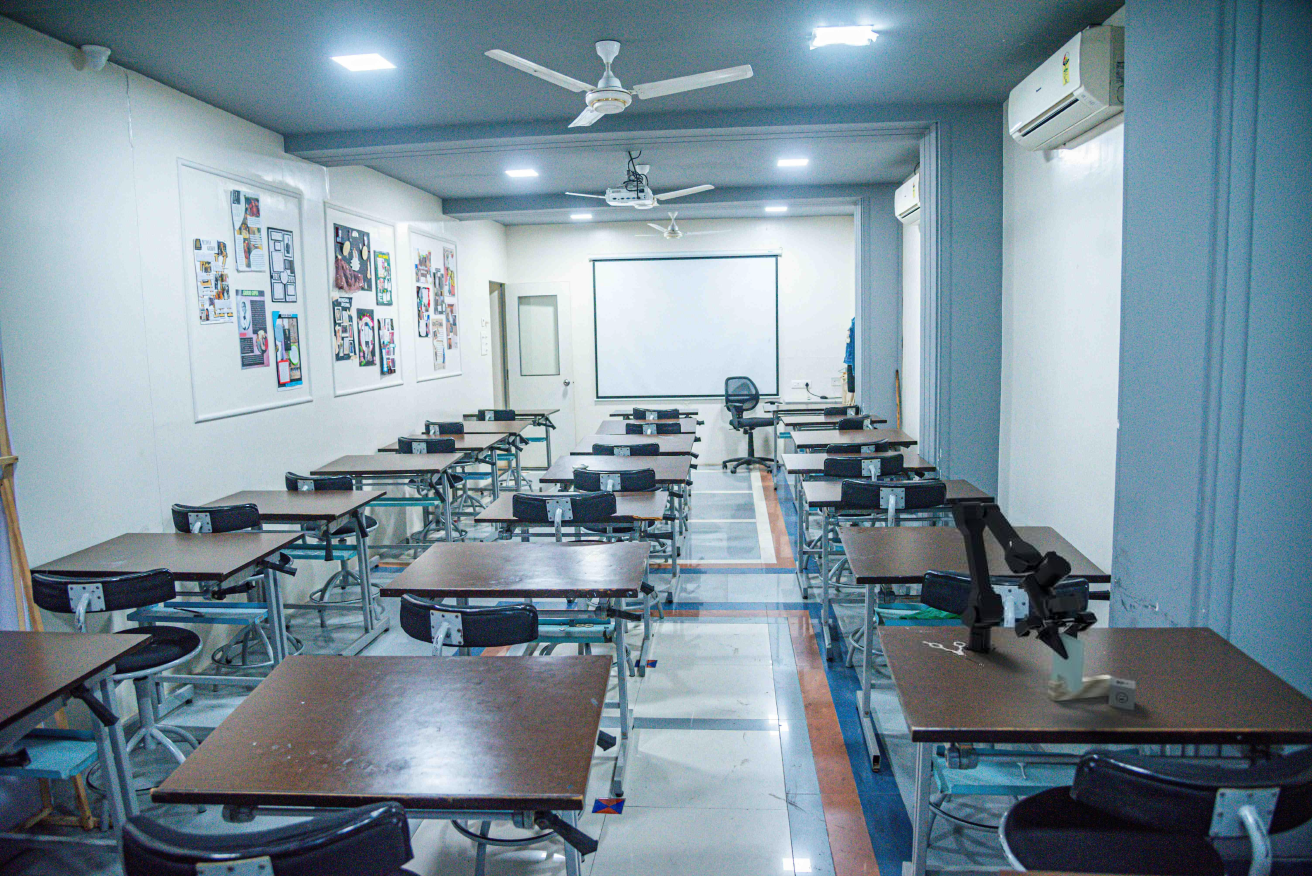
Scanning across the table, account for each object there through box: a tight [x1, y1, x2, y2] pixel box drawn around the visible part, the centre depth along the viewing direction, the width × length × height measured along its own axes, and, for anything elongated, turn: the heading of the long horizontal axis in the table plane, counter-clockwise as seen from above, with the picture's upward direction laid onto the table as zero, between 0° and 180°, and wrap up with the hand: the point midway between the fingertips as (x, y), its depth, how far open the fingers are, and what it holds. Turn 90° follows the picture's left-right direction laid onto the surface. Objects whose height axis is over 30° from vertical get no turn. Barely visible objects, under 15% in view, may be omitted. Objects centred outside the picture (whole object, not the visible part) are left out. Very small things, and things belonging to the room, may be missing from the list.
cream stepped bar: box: [1047, 674, 1112, 702], centre depth 199 cm, size 16×2×4 cm, turn 104°
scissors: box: [922, 640, 983, 666], centre depth 225 cm, size 11×1×20 cm
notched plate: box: [1051, 632, 1086, 691], centre depth 197 cm, size 7×2×11 cm, turn 14°
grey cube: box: [1108, 676, 1136, 711], centre depth 195 cm, size 5×5×5 cm
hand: (1072, 658), depth 196 cm, fingers closed on notched plate, 2 cm apart
